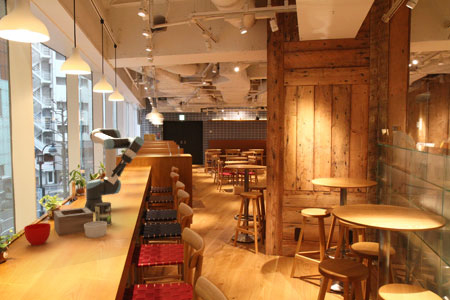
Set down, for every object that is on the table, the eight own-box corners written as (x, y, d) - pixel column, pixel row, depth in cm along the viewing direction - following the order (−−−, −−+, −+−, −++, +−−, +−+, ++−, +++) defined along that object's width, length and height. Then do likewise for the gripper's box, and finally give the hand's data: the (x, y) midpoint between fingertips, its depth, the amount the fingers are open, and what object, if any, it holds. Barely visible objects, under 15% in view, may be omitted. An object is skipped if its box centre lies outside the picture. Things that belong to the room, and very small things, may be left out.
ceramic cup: (56, 237, 208) (55, 220, 207) (46, 246, 191) (46, 228, 191) (32, 238, 206) (31, 221, 205) (20, 248, 189) (20, 229, 189)
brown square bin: (54, 228, 228) (53, 211, 227) (86, 223, 239) (86, 207, 238) (59, 236, 211) (58, 217, 211) (93, 230, 222) (93, 212, 221)
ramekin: (105, 238, 207) (105, 226, 206) (81, 239, 204) (81, 227, 204) (109, 231, 220) (108, 220, 219) (86, 232, 218) (86, 221, 217)
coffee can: (114, 222, 241) (113, 202, 240) (106, 226, 231) (105, 205, 230) (100, 221, 243) (100, 201, 242) (92, 225, 233) (91, 204, 232)
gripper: (131, 156, 233) (112, 183, 228) (134, 162, 257) (117, 186, 252) (121, 150, 233) (102, 177, 227) (125, 156, 257) (108, 181, 251)
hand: (110, 182), depth 239 cm, fingers open, 13 cm apart
